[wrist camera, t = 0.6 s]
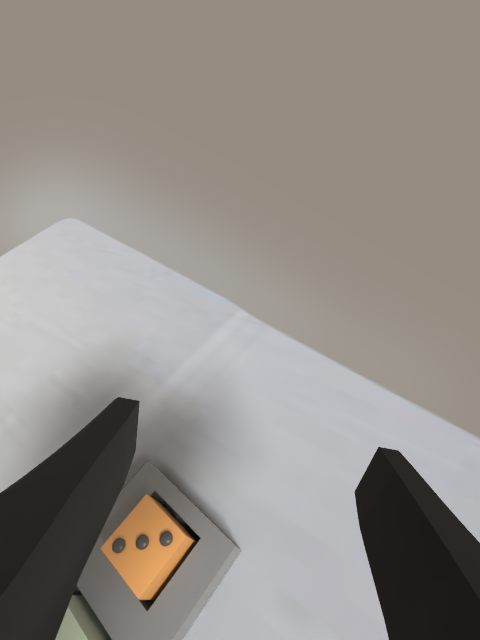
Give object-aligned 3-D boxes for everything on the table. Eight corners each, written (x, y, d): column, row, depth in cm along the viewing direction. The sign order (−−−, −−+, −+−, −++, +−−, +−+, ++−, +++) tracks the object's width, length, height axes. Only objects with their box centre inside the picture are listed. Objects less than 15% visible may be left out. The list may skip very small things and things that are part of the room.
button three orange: (156, 599, 22) (137, 599, 20) (120, 553, 24) (98, 547, 22) (198, 542, 24) (185, 535, 21) (161, 503, 26) (145, 493, 23)
